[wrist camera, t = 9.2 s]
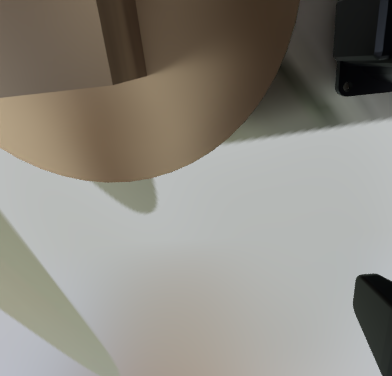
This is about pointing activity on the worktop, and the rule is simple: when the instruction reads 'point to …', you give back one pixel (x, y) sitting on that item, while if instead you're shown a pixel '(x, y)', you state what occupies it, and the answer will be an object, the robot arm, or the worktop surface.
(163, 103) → the lid
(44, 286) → the worktop surface
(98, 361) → the worktop surface
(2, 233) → the worktop surface
